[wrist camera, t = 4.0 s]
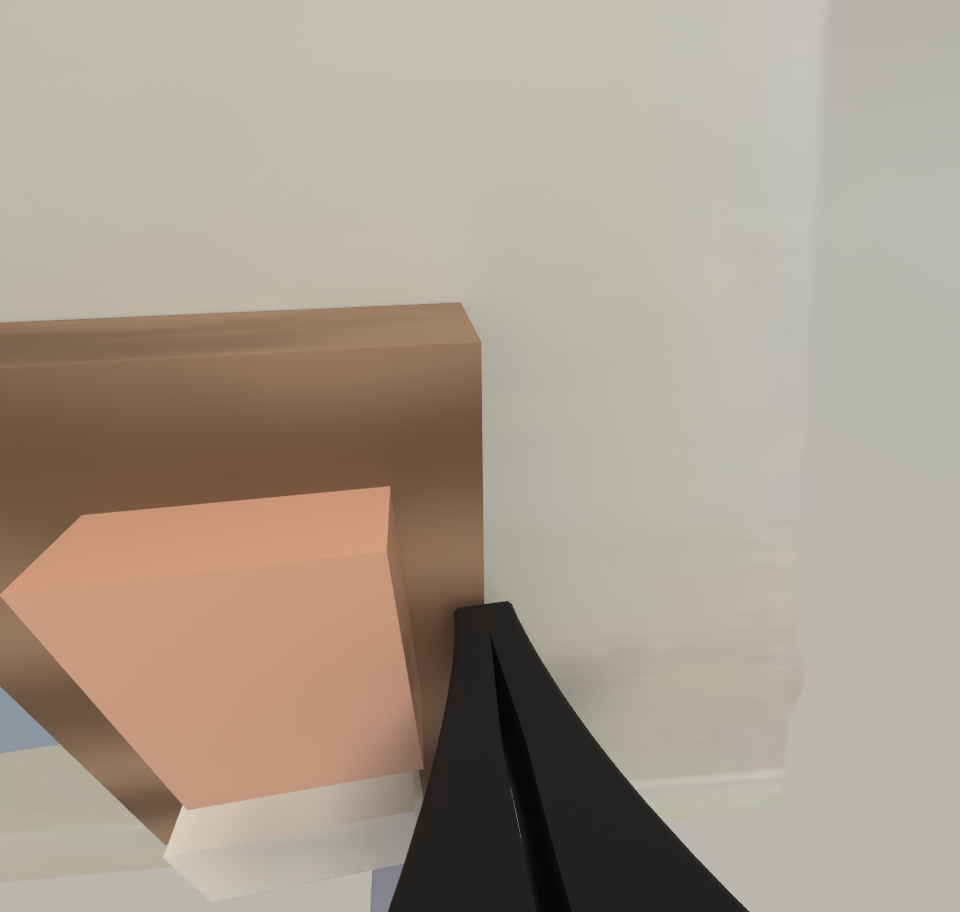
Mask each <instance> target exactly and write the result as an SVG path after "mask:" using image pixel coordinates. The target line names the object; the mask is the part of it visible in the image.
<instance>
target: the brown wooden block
mask: <svg viewBox="0 0 960 912" xmlns="http://www.w3.org/2000/svg"><path fill="white" fill-rule="evenodd" d="M387 486H390V487H391V494H392V501H393V508H394V514H395V521H396V528H397V535H398V541H399V548H400V555H401V561H402V568H403V575H404V582H405V588H406V595H407V602H408V608H409V615H410V622H411V629H412V635H413V642H414V649H415V656H416V662H417V669H418V676H419V682H420V689H421V696H422V727H423V760H424V769H421V770H419V775H420V781H421V786H422V791H423V798H424V795H425V791H426V787H427V784H428V780H429V776H430V772H431V769H432V765H433V761H434V756H435V752H436V748H437V744H438V739H439V734H440V730H441V725H442V720H443V716H444V711H445V706H446V701H447V695H448V688H449V682H450V676H451V669H452V661H453V651H454V638H455V622H454V611H455V610H456V609H457V608H458V607H466V606H474V605H482V604H484V560H483V469H482V379H481V341H480V339H479V337H478V335H477V333H476V331H475V329H474V327H473V326H472V324H471V322H470V320H469V318H468V316H467V314H466V312H465V310H464V309H463V307H462V305H461V303H445V304H422V305H399V306H376V307H353V308H330V309H307V310H284V311H261V312H238V313H215V314H192V315H169V316H146V317H123V318H100V319H77V320H55V321H32V322H9V323H0V594H1V593H2V592H3V591H4V590H5V589H6V588H7V587H8V586H9V585H10V584H11V583H12V582H13V581H14V580H15V579H16V578H17V577H18V576H20V575H21V574H22V573H23V572H24V571H25V570H26V569H27V568H28V567H29V566H30V565H31V564H32V563H33V562H34V561H35V560H36V559H37V558H38V557H39V556H40V555H41V554H42V553H43V552H44V551H45V550H46V549H47V548H48V547H49V546H50V545H52V544H53V543H54V542H55V541H56V540H57V539H58V538H59V537H60V536H61V535H62V534H63V533H64V532H65V531H66V530H67V529H68V528H69V527H70V526H71V525H72V524H73V523H74V522H75V521H76V520H77V519H78V518H79V517H80V516H81V515H89V514H100V513H110V512H121V511H132V510H142V509H153V508H164V507H174V506H185V505H196V504H206V503H217V502H228V501H238V500H249V499H260V498H270V497H281V496H292V495H302V494H313V493H324V492H334V491H345V490H355V489H366V488H377V487H387ZM0 687H1V688H2V689H3V690H4V691H5V692H6V693H7V694H8V695H10V696H11V697H12V698H13V699H14V700H15V701H16V702H17V703H18V704H19V705H20V706H21V707H22V708H23V709H24V710H25V711H26V712H27V713H28V714H29V715H30V716H31V717H32V718H33V719H35V720H36V721H37V722H38V723H39V724H40V725H41V726H42V727H43V728H44V729H45V730H46V731H47V732H48V733H49V734H50V735H51V736H52V737H53V738H54V739H55V740H56V741H57V742H58V743H60V744H61V745H62V746H63V747H64V748H65V749H66V750H67V751H68V752H69V753H70V754H71V755H72V756H73V757H74V758H75V759H76V760H77V761H78V762H79V763H80V764H81V765H82V766H83V767H85V768H86V769H87V770H88V771H89V772H90V773H91V774H92V775H93V776H94V777H95V778H96V779H97V780H98V781H99V782H100V783H101V784H102V785H103V786H104V787H105V788H106V789H107V790H108V791H110V792H111V793H112V794H113V795H114V796H115V797H116V798H117V799H118V800H119V801H120V802H121V803H122V804H123V805H124V806H125V807H126V808H127V809H128V810H129V811H130V812H131V813H132V814H133V815H135V816H136V817H137V818H138V819H139V820H140V821H141V822H142V823H143V824H144V825H145V826H146V827H147V828H148V829H149V830H150V831H151V832H152V833H153V834H154V835H155V836H156V837H157V838H159V839H160V840H161V841H162V842H163V843H164V844H165V845H166V844H168V843H169V840H170V838H171V835H172V832H173V830H174V827H175V824H176V821H177V819H178V816H179V813H180V811H181V808H182V804H181V802H180V801H179V800H178V799H177V798H176V797H175V796H174V794H173V793H172V792H171V791H170V790H169V789H168V788H167V786H166V785H165V784H164V783H163V782H162V781H161V780H160V778H159V777H158V776H157V775H156V774H155V773H154V772H153V770H152V769H151V768H150V767H149V766H148V765H147V764H146V762H145V761H144V760H143V759H142V758H141V757H140V756H139V754H138V753H137V752H136V751H135V750H134V749H133V748H132V746H131V745H130V744H129V743H128V742H127V741H126V740H125V738H124V737H123V736H122V735H121V734H120V733H119V732H118V730H117V729H116V728H115V727H114V726H113V725H112V724H111V722H110V721H109V720H108V719H107V718H106V717H105V716H104V714H103V713H102V712H101V711H100V710H99V709H98V708H97V706H96V705H95V704H94V703H93V702H92V701H91V700H90V698H89V697H88V696H87V695H86V694H85V693H84V691H83V690H82V689H81V688H80V687H79V686H78V685H77V683H76V682H75V681H74V680H73V679H72V678H71V677H70V675H69V674H68V673H67V672H66V671H65V670H64V669H63V667H62V666H61V665H60V664H59V663H58V662H57V661H56V659H55V658H54V657H53V656H52V655H51V654H50V653H49V651H48V650H47V649H46V648H45V647H44V646H43V645H42V643H41V642H40V641H39V640H38V639H37V638H36V637H35V635H34V634H33V633H32V632H31V631H30V630H29V629H28V627H27V626H26V625H25V624H24V623H23V622H22V621H21V619H20V618H19V617H18V616H17V615H16V614H15V613H14V611H13V610H12V609H11V608H10V607H9V606H8V605H7V603H6V602H5V601H4V600H3V599H2V598H1V597H0Z"/></svg>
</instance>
